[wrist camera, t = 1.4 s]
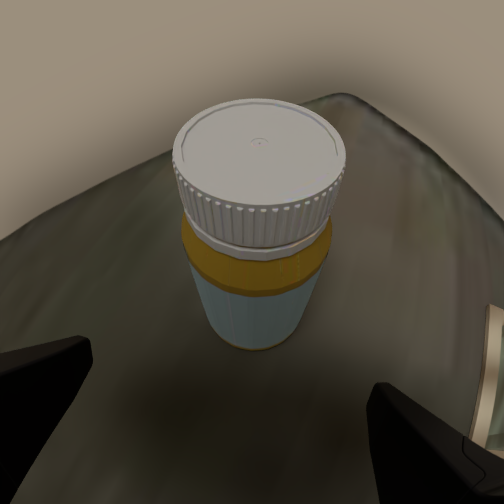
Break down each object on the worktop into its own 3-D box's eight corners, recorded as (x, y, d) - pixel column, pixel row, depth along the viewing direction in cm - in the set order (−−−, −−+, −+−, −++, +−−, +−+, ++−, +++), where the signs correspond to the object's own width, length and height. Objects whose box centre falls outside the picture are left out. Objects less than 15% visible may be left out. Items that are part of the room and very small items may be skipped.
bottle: (195, 339, 22) (124, 197, 9) (221, 258, 25) (200, 87, 13) (291, 362, 21) (357, 240, 8) (307, 276, 25) (356, 109, 12)
